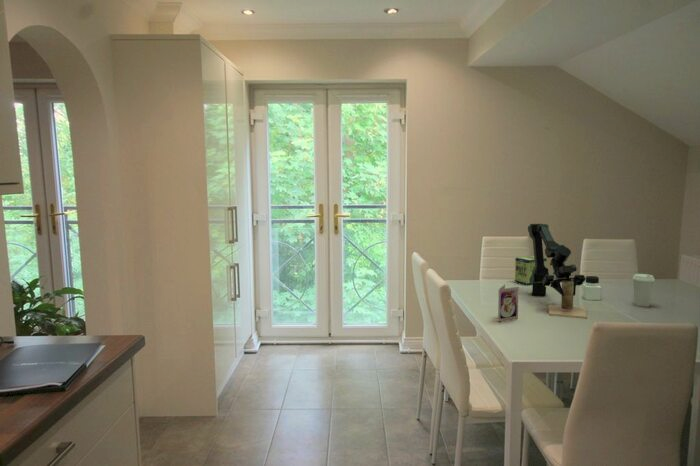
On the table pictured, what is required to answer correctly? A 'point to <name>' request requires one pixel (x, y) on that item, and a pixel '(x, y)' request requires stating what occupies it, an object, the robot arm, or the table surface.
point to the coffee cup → (643, 289)
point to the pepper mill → (567, 295)
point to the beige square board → (567, 312)
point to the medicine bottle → (592, 288)
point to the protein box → (525, 269)
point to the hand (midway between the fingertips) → (568, 295)
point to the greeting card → (508, 303)
